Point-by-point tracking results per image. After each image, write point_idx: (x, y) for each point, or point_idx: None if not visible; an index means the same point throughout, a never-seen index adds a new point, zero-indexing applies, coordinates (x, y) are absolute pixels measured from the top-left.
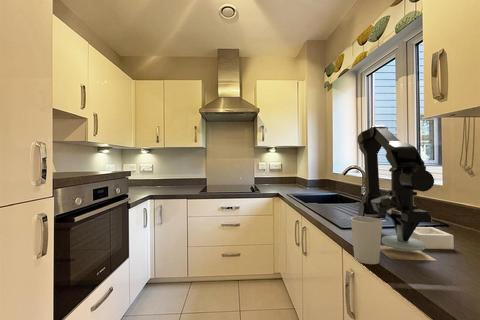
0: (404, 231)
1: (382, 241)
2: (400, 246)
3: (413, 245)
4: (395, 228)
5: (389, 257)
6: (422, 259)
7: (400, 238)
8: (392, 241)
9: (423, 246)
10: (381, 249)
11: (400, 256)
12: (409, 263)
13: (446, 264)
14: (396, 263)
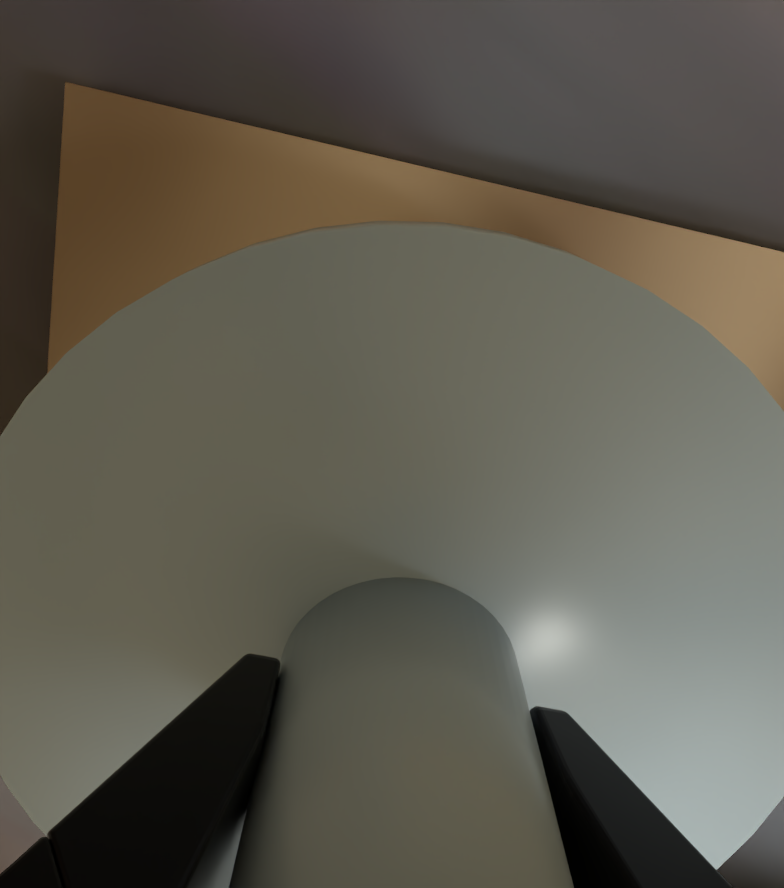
0: (62, 843)
1: (580, 258)
2: (42, 383)
3: (74, 687)
4: (673, 877)
5: (142, 101)
6: None
7: (324, 643)
8: (402, 436)
9: (47, 825)
10: (599, 261)
11: None
12: (25, 371)
13: (11, 810)
14: (14, 139)
